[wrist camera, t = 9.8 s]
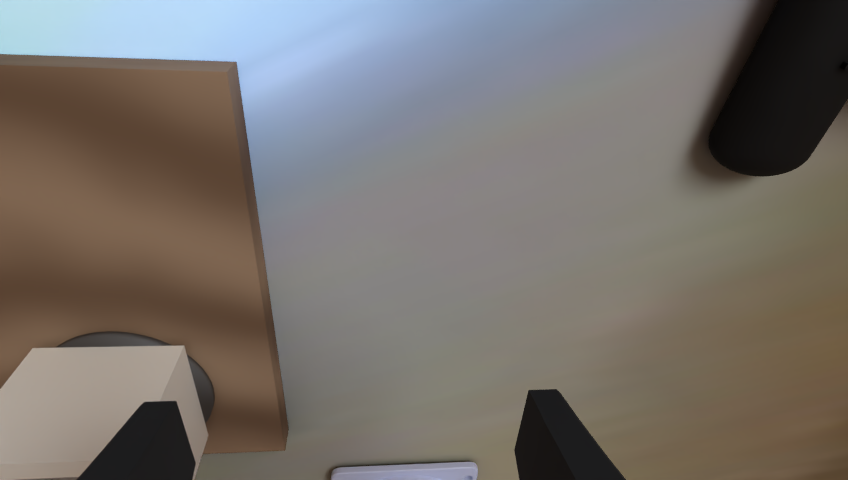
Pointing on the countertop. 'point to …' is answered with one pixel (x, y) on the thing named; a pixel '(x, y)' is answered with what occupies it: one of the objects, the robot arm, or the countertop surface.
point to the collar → (87, 405)
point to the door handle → (786, 90)
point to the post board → (138, 228)
